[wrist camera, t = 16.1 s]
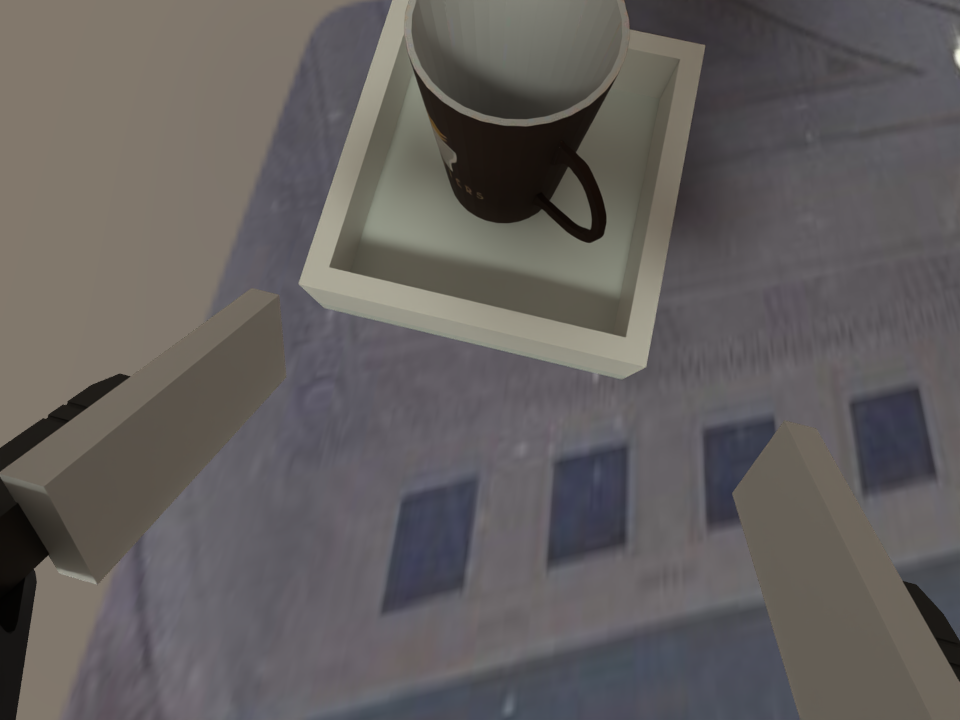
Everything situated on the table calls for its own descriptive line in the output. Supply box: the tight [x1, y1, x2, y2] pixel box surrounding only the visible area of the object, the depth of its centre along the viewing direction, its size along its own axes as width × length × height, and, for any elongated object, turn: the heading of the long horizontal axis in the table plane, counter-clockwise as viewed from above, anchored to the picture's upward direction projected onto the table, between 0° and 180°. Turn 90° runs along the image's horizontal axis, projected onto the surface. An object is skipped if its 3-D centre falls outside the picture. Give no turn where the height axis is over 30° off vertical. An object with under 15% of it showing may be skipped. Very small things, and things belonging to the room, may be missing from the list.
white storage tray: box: [299, 0, 705, 379], centre depth 27 cm, size 17×18×4 cm
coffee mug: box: [404, 0, 630, 243], centre depth 23 cm, size 12×9×10 cm
